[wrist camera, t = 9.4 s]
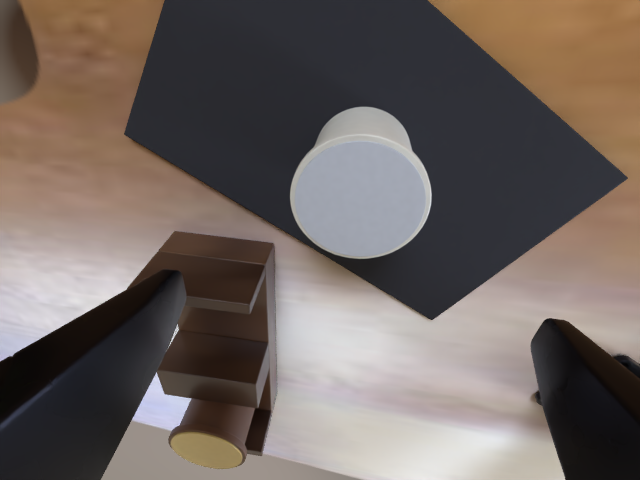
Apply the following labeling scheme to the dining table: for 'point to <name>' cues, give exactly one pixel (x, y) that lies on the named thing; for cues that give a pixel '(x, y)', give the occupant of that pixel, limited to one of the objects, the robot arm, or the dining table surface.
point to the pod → (213, 434)
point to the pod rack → (223, 325)
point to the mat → (377, 92)
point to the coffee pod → (361, 186)
